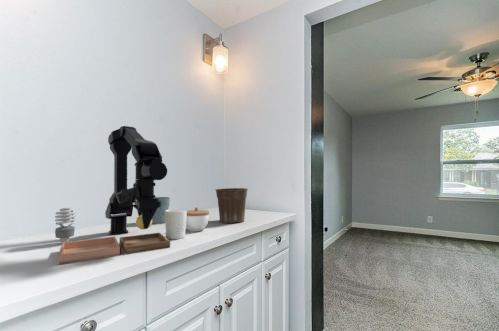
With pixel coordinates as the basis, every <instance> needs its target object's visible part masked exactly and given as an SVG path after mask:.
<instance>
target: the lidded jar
mask: <svg viewBox="0 0 499 331" xmlns="http://www.w3.org/2000/svg"><path fill="white" fill-rule="evenodd" d="M186 210H187V209H186ZM209 215H210V211H209V210H207V209H198V207H194V209H190V210H189V209H188V210H187V219H186V229H188V231H189V232H200V231H201V232H202V231H204V230H205V228H206V227H207V226H208V222H209V218H210V216H209Z"/></svg>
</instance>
